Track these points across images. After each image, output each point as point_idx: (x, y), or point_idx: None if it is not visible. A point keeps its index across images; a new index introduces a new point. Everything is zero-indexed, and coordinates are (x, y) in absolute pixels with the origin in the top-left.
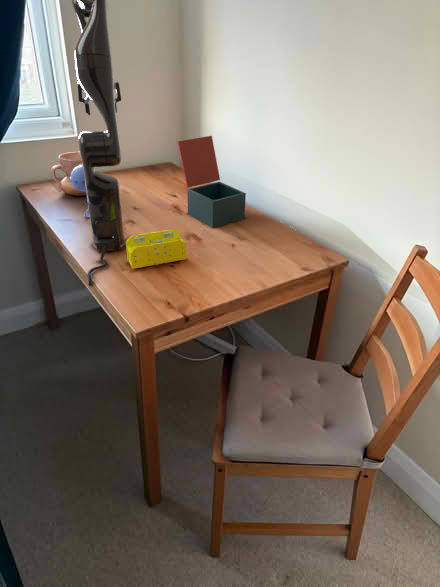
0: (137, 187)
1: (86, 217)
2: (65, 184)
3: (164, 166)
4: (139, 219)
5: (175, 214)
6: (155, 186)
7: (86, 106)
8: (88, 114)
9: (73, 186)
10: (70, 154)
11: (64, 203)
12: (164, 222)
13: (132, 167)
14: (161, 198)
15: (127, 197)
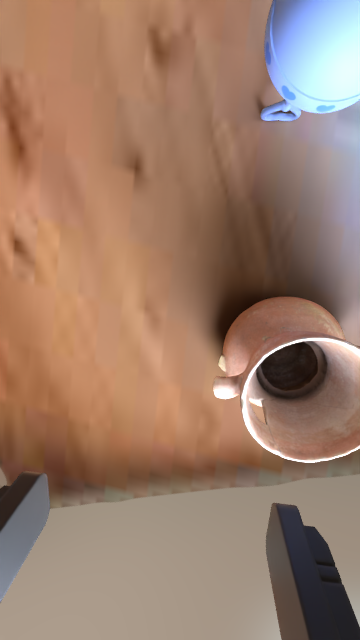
0: (115, 342)
1: (293, 113)
2: (336, 329)
3: None
4: (134, 66)
5: (24, 86)
6: (65, 337)
7: (335, 616)
8: (293, 506)
9: (312, 308)
10: (322, 450)
11: (337, 265)
12: (61, 19)
13: (114, 494)
14: (55, 236)
15: (150, 269)
